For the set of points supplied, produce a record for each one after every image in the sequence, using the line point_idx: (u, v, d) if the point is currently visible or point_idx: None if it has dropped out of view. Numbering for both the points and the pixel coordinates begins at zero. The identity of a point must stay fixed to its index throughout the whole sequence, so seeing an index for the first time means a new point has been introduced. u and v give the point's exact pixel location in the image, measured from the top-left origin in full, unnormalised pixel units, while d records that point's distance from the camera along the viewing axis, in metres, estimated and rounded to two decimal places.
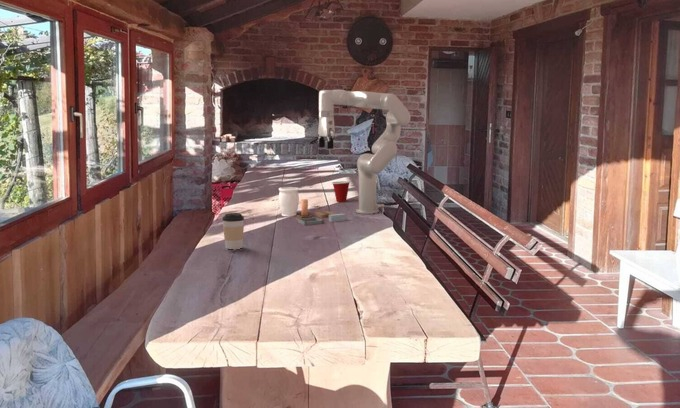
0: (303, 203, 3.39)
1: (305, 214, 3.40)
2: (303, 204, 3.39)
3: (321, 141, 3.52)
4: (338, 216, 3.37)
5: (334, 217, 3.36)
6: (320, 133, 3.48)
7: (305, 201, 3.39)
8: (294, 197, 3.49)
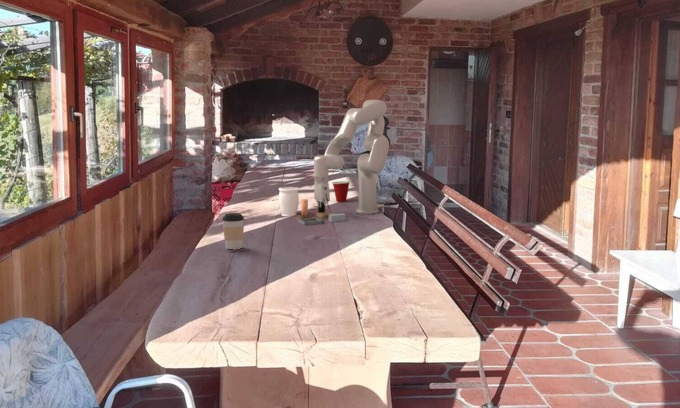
0: (303, 203, 3.39)
1: (305, 214, 3.40)
2: (303, 204, 3.39)
3: None
4: (338, 216, 3.37)
5: (334, 217, 3.36)
6: (316, 197, 3.54)
7: (305, 201, 3.39)
8: (294, 197, 3.49)
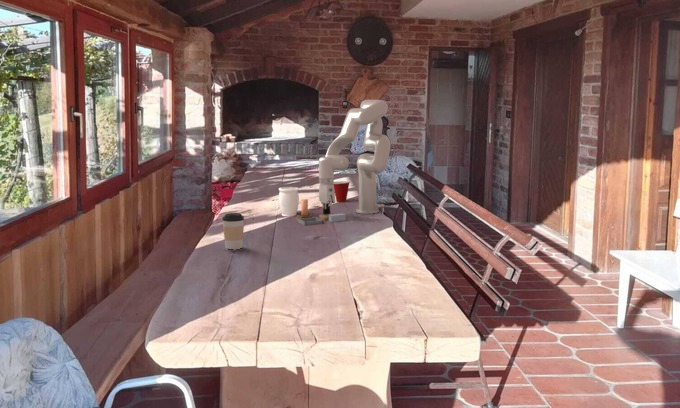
0: (303, 203, 3.39)
1: (305, 214, 3.40)
2: (303, 204, 3.39)
3: None
4: (338, 216, 3.37)
5: (334, 217, 3.36)
6: (320, 199, 3.48)
7: (305, 201, 3.39)
8: (294, 197, 3.49)
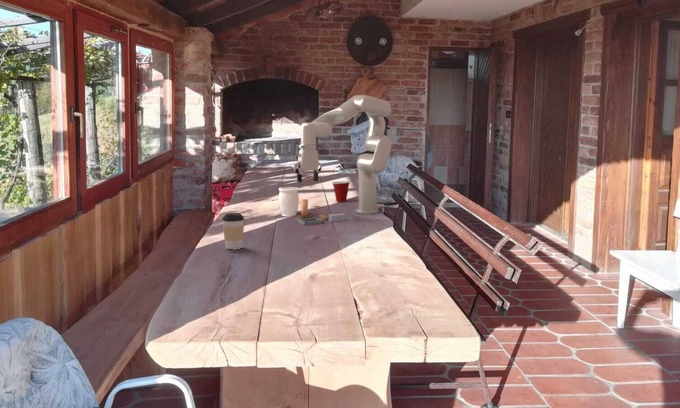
0: (303, 203, 3.39)
1: (305, 214, 3.40)
2: (303, 204, 3.39)
3: (314, 175, 3.43)
4: (338, 216, 3.37)
5: (334, 217, 3.36)
6: None
7: (305, 201, 3.39)
8: (294, 197, 3.49)
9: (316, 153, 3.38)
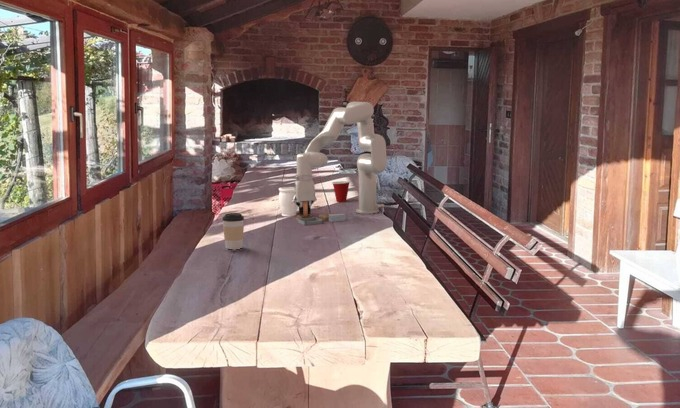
0: (303, 203, 3.39)
1: (305, 214, 3.40)
2: (303, 204, 3.39)
3: None
4: (338, 216, 3.37)
5: (334, 217, 3.36)
6: None
7: (305, 201, 3.39)
8: None
9: (312, 184, 3.38)
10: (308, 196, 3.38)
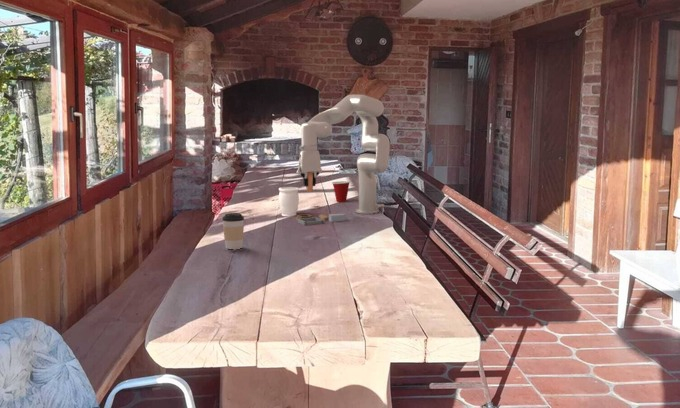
0: (308, 174, 3.28)
1: (310, 186, 3.29)
2: (308, 175, 3.28)
3: None
4: (338, 216, 3.37)
5: (334, 217, 3.36)
6: None
7: (310, 172, 3.28)
8: (294, 197, 3.49)
9: (317, 154, 3.27)
10: (313, 167, 3.27)
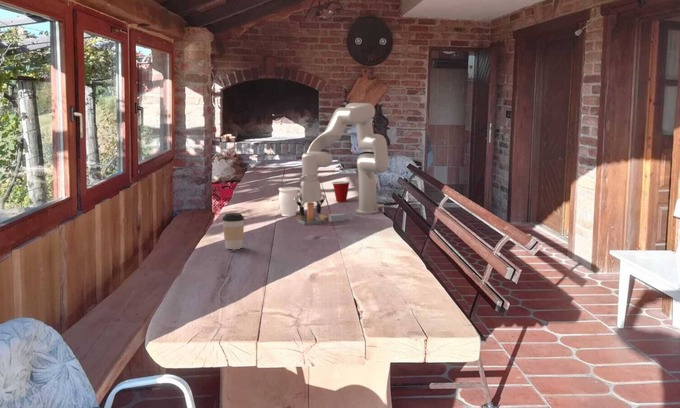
0: (309, 206, 3.31)
1: (311, 218, 3.32)
2: (309, 207, 3.31)
3: (317, 206, 3.34)
4: (338, 216, 3.37)
5: (334, 217, 3.36)
6: None
7: (311, 204, 3.31)
8: (294, 197, 3.49)
9: (318, 184, 3.29)
10: (314, 197, 3.29)
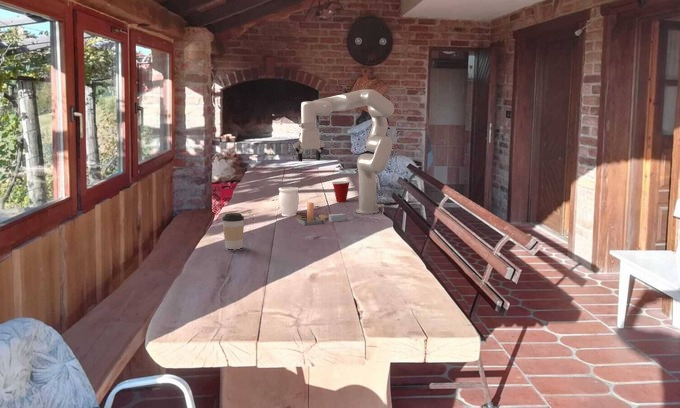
0: (309, 206, 3.31)
1: (311, 218, 3.32)
2: (309, 207, 3.31)
3: (316, 154, 3.43)
4: (338, 216, 3.37)
5: (334, 217, 3.36)
6: None
7: (311, 204, 3.31)
8: (294, 197, 3.49)
9: (317, 132, 3.37)
10: (313, 144, 3.37)
